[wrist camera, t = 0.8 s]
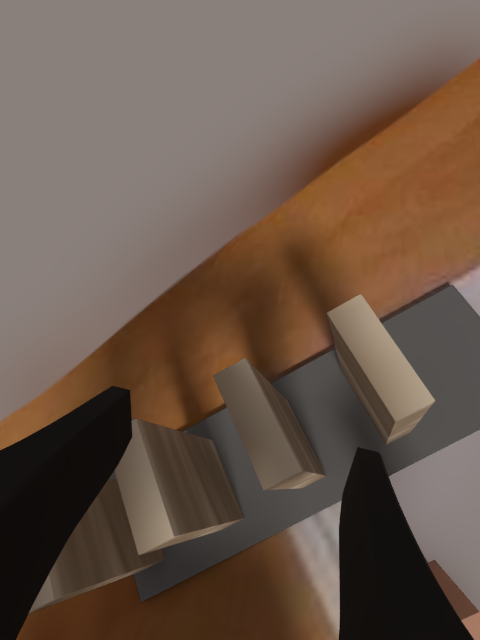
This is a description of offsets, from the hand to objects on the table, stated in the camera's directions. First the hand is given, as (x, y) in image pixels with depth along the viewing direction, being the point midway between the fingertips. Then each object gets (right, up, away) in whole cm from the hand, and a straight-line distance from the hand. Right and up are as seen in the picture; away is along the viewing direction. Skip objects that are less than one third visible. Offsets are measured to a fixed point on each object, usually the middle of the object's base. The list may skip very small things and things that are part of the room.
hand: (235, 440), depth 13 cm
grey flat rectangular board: (+4, -4, +13) cm, 14 cm away
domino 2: (-1, -6, +13) cm, 15 cm away
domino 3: (+4, -4, +13) cm, 14 cm away
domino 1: (-6, -9, +14) cm, 17 cm away
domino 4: (+8, -1, +12) cm, 15 cm away
